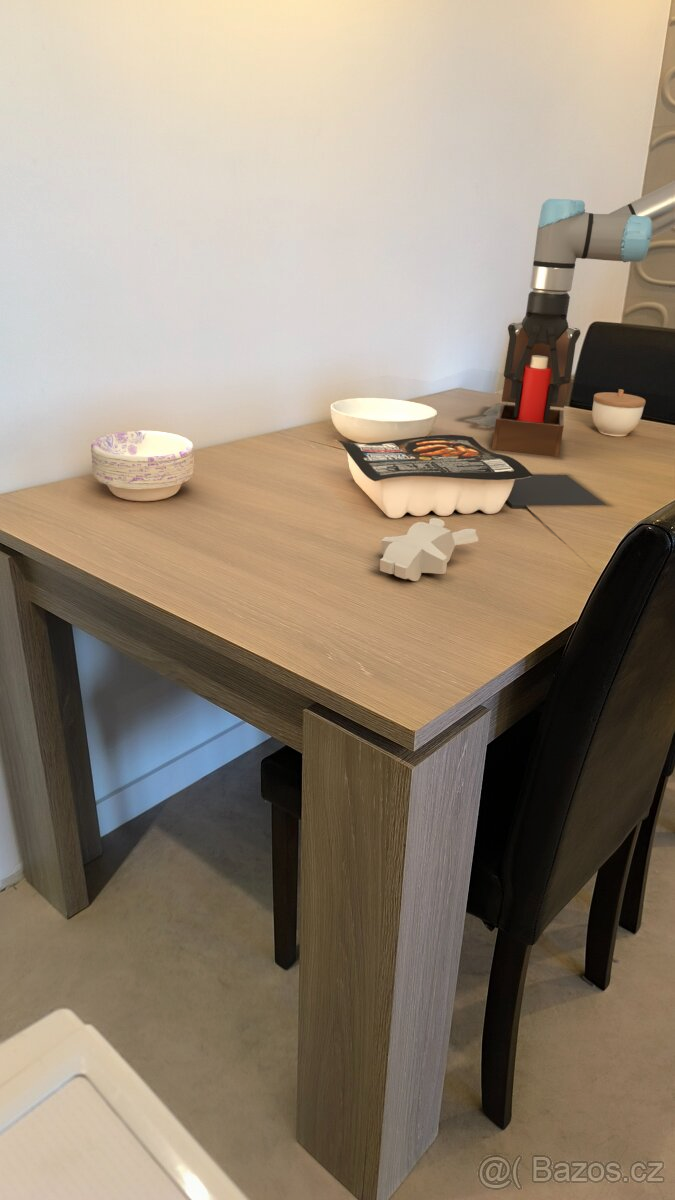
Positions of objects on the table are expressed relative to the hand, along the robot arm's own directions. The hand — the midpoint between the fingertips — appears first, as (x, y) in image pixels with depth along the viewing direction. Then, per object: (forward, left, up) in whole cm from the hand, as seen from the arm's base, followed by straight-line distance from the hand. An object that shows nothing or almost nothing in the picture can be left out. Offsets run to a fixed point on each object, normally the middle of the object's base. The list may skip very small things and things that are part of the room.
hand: (530, 416), depth 163 cm
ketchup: (0, 0, -5) cm, 5 cm away
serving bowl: (+29, -3, -6) cm, 30 cm away
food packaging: (+29, +31, -6) cm, 43 cm away
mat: (+8, +28, -6) cm, 30 cm away
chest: (0, 0, -6) cm, 6 cm away
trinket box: (-25, -13, -6) cm, 29 cm away
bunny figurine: (+36, +58, -6) cm, 69 cm away
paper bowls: (+73, +28, -6) cm, 78 cm away
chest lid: (-3, -8, +9) cm, 12 cm away
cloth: (-3, -23, -6) cm, 24 cm away
